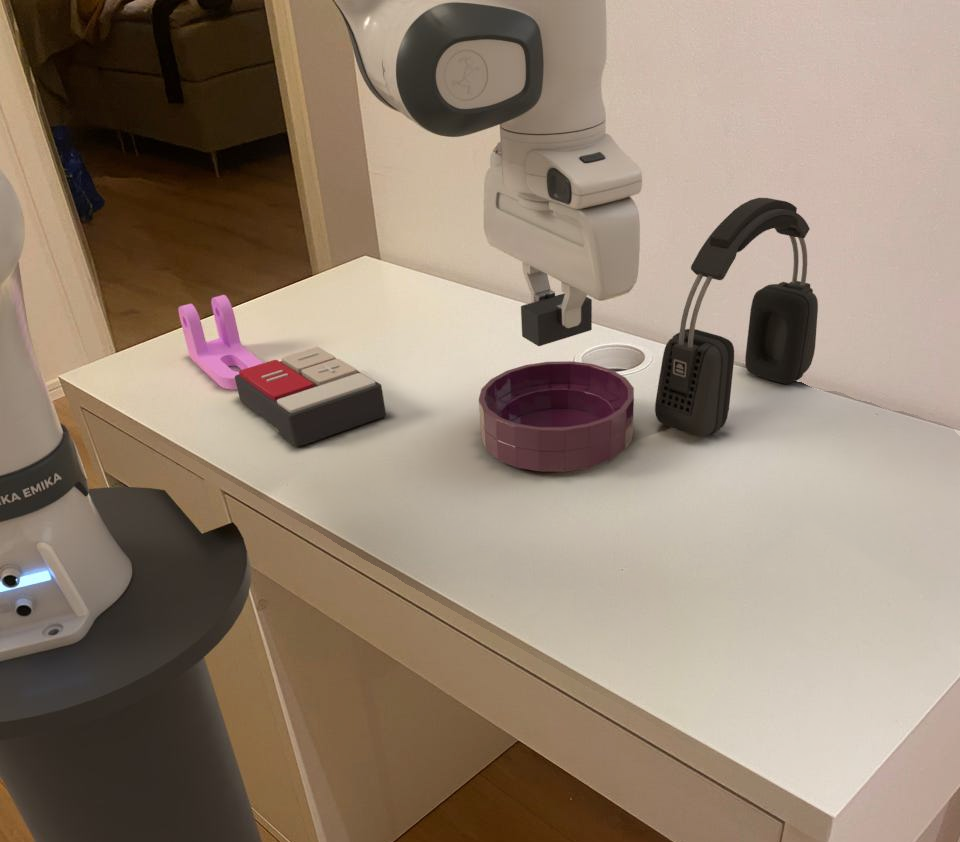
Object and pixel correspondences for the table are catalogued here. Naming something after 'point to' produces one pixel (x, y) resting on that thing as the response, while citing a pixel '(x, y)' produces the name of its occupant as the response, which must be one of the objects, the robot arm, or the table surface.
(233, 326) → the bracket
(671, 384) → the headphones
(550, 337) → the eraser
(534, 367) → the bowl
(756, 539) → the table surface
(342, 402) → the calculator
